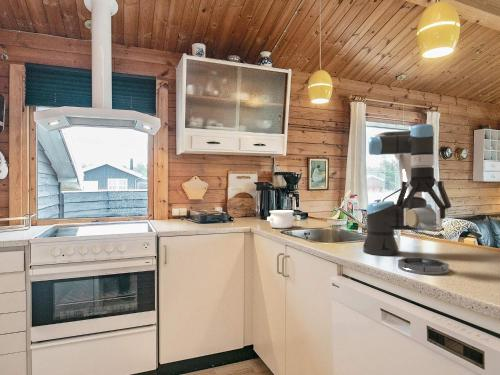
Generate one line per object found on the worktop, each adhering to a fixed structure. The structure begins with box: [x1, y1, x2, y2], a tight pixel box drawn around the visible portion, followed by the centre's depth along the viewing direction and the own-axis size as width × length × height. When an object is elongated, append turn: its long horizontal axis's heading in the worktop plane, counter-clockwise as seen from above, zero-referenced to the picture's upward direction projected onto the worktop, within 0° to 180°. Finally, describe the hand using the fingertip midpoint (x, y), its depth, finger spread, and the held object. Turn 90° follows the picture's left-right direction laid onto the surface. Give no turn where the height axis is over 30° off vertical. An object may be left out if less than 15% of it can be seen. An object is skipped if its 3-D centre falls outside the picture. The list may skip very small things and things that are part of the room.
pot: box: [266, 209, 296, 229], centre depth 235 cm, size 22×17×12 cm
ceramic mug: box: [405, 207, 438, 231], centre depth 119 cm, size 11×8×8 cm
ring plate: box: [397, 256, 450, 276], centre depth 120 cm, size 17×17×2 cm
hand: (422, 226), depth 120 cm, fingers closed on ceramic mug, 11 cm apart
